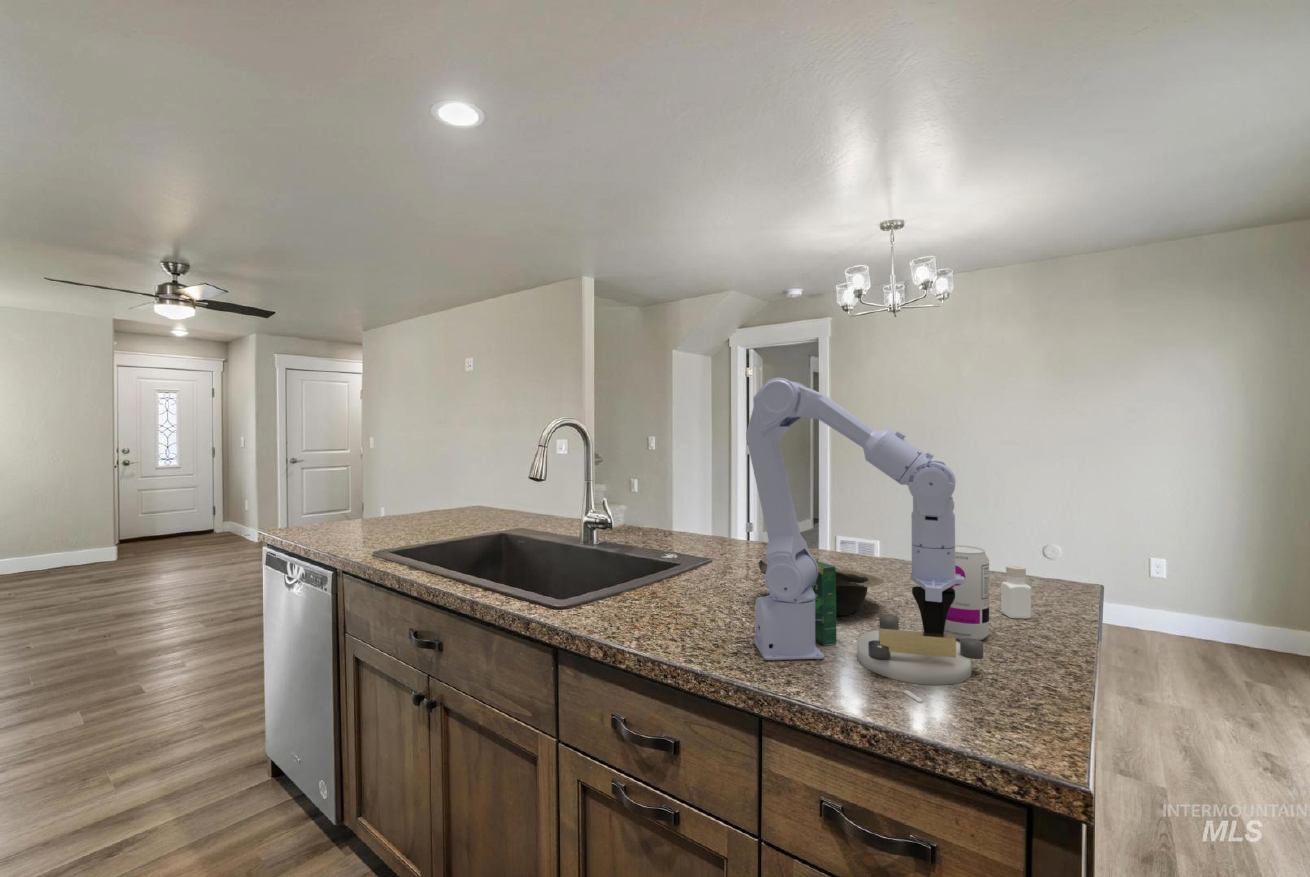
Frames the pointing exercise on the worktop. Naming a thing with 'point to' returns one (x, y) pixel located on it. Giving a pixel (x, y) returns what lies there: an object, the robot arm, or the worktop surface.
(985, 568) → the supplement can
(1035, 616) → the worktop surface
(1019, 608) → the salt shaker
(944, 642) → the lever
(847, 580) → the stone bowl
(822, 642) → the coffee box
